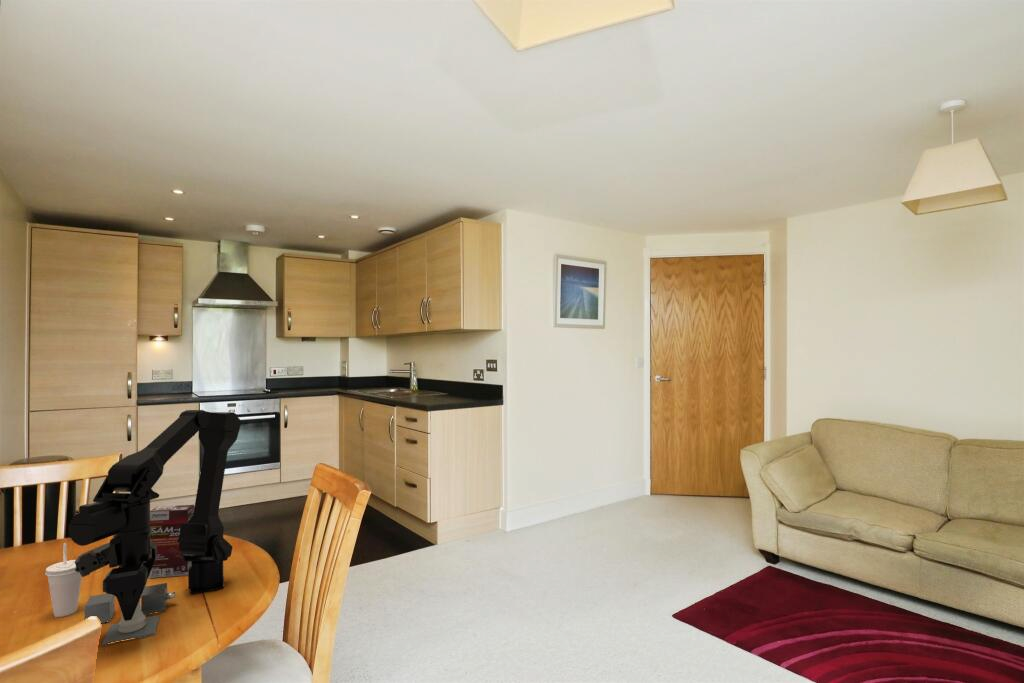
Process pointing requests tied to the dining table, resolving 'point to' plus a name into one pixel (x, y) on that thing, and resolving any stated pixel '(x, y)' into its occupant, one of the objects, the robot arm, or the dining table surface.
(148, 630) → the mat
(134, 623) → the rook chess piece
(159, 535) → the supplement box
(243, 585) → the dining table surface
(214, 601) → the dining table surface
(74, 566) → the smoothie
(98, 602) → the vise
